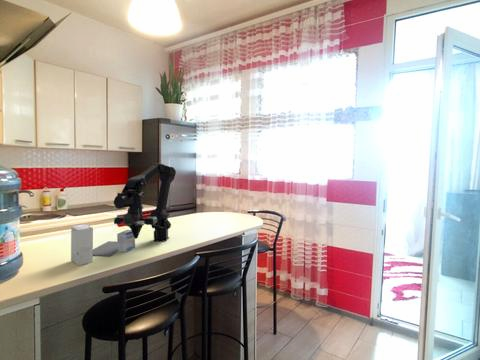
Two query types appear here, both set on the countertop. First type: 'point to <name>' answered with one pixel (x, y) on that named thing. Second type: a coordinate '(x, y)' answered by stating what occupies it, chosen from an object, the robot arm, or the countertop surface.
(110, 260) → the countertop surface
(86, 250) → the skincare box
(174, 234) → the countertop surface
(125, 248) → the medicine box
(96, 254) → the mat
